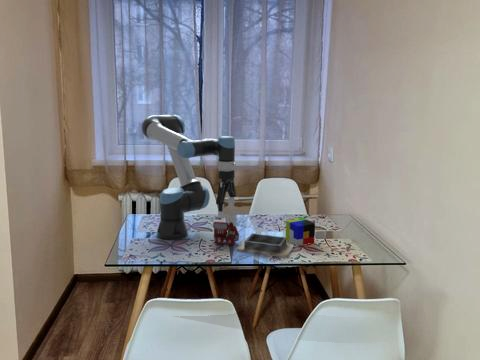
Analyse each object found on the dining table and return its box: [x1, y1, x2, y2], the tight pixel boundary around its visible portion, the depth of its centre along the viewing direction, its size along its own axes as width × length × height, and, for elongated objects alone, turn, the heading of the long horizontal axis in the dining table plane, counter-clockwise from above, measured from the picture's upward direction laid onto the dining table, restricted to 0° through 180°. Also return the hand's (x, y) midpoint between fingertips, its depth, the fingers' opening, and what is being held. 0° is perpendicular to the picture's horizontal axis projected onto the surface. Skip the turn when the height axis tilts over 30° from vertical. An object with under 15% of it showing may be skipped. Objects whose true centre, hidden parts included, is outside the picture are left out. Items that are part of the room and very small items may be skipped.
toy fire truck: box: [212, 221, 240, 246], centre depth 213 cm, size 7×12×10 cm, turn 83°
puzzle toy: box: [285, 217, 316, 247], centre depth 217 cm, size 10×10×10 cm
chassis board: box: [235, 232, 295, 258], centre depth 207 cm, size 24×14×4 cm, turn 71°
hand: (226, 213), depth 211 cm, fingers open, 13 cm apart
